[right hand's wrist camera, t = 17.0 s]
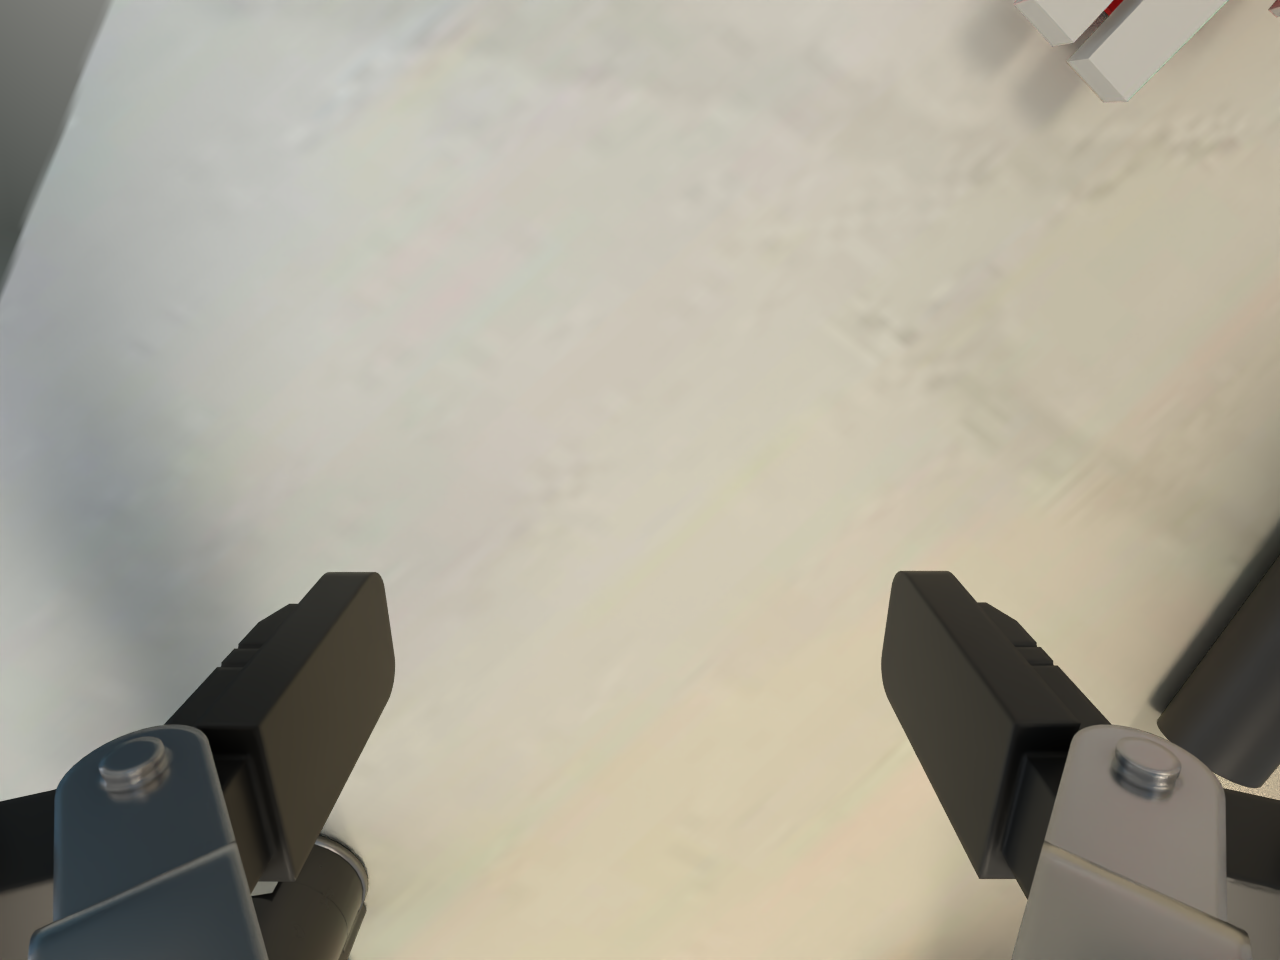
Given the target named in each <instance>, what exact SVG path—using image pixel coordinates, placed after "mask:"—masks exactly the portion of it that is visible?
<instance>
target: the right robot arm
mask: <svg viewBox="0 0 1280 960" xmlns="http://www.w3.org/2000/svg"><path fill="white" fill-rule="evenodd" d="M238 645H239V646H238V649H234V650H233V651H232V652H231V653H230V654H229V655H228V656H227V657H226V658H225V659H224V660H223V661H222V665H221V667H217V668H216V669H215V670H214V671H213V672H212V673H211V674H210V676H209V677H208V678H207V679H206V680H205V681H204V682H203V683H202V684H201V685H200V686H199V687H198V689H197V690H196V691H195V692H194V693H193V694H192V695H191V696H190V697H189V698H188V699H187V700H186V702H185V703H184V704H183V705H182V706H181V707H180V708H179V709H178V710H177V711H176V712H175V713H174V715H173V716H172V717H171V718H170V719H169V720H168V721H167V722H166V723H165V724H164V725H162V726H155V727H150V728H146V729H142V730H138V731H135V732H132V733H129V734H126V735H124V736H121V737H119V738H117V739H114V740H112V741H110V742H108V743H106V744H104V745H103V746H101V747H99V748H97V749H96V750H94V751H92V752H91V753H89V754H88V755H87V756H85V757H84V758H82V759H81V760H80V761H79V762H78V763H76V764H75V765H74V766H73V767H72V768H71V769H70V770H69V771H68V772H67V773H66V774H65V776H64V777H63V778H62V780H61V781H60V783H59V785H58V787H57V789H55V790H51V791H47V792H42V793H37V794H33V795H28V796H24V797H19V798H14V799H10V800H5V801H1V802H0V960H347V959H348V957H349V954H350V952H351V949H352V946H353V944H354V941H355V939H356V936H357V934H358V931H359V928H360V926H361V923H362V921H363V918H364V916H365V913H366V908H365V906H364V904H363V902H364V900H365V897H366V895H367V891H368V879H367V875H366V872H365V869H364V867H363V866H362V864H361V863H360V861H359V860H358V859H357V858H356V857H355V855H354V854H352V853H351V852H350V851H349V850H348V849H346V848H345V847H343V846H342V845H340V844H338V843H337V842H335V841H333V840H330V839H328V838H325V837H322V836H319V834H320V832H321V830H322V828H323V826H324V824H325V822H326V820H327V818H328V817H329V815H330V813H331V811H332V809H333V807H334V805H335V803H336V801H337V799H338V797H339V795H340V793H341V791H342V789H343V787H344V785H345V783H346V781H347V780H348V778H349V776H350V774H351V772H352V770H353V768H354V766H355V764H356V762H357V760H358V758H359V756H360V754H361V752H362V750H363V748H364V746H365V744H366V742H367V741H368V739H369V737H370V735H371V733H372V731H373V729H374V727H375V725H376V723H377V721H378V719H379V717H380V715H381V713H382V711H383V709H384V707H385V705H386V704H387V702H388V699H389V697H390V694H391V691H392V688H393V683H394V675H395V657H394V649H393V643H392V636H391V629H390V622H389V615H388V608H387V601H386V595H385V588H384V583H383V580H382V578H381V576H380V575H379V574H378V573H376V572H327V573H325V574H324V575H323V576H322V577H321V578H320V579H319V580H318V582H317V583H316V584H315V585H314V586H313V587H312V589H311V590H310V591H309V592H308V593H307V594H306V595H305V597H304V598H303V599H302V600H301V601H300V602H299V604H288V605H287V606H285V607H283V608H282V609H280V610H278V611H277V612H275V613H273V614H272V615H270V616H268V617H267V618H265V619H263V620H262V621H260V622H258V624H257V625H256V626H255V627H254V628H253V629H252V630H251V631H250V632H249V633H248V634H247V635H246V637H245V638H244V639H243V640H242V641H241V642H240V643H239V644H238ZM881 670H882V679H883V685H884V689H885V692H886V695H887V698H888V700H889V702H890V704H891V706H892V708H893V710H894V712H895V714H896V716H897V717H898V719H899V721H900V723H901V725H902V727H903V729H904V731H905V733H906V735H907V737H908V739H909V741H910V743H911V745H912V747H913V749H914V751H915V753H916V755H917V757H918V759H919V761H920V763H921V765H922V767H923V769H924V771H925V773H926V775H927V777H928V779H929V781H930V783H931V785H932V787H933V788H934V790H935V792H936V794H937V796H938V798H939V800H940V802H941V804H942V806H943V808H944V810H945V812H946V814H947V816H948V818H949V820H950V822H951V824H952V826H953V828H954V830H955V832H956V834H957V836H958V838H959V840H960V842H961V844H962V846H963V848H964V850H965V852H966V854H967V856H968V858H969V860H970V861H971V863H972V865H973V867H974V869H975V871H976V873H977V875H978V877H979V879H1016V880H1017V882H1018V884H1019V885H1020V887H1021V889H1022V891H1023V892H1024V894H1025V896H1026V898H1027V900H1028V901H1027V904H1026V908H1025V912H1024V915H1023V919H1022V923H1021V926H1020V930H1019V934H1018V937H1017V941H1016V945H1015V948H1014V952H1013V955H1012V959H1011V960H1280V800H1275V799H1271V798H1266V797H1262V796H1257V795H1252V794H1248V793H1243V792H1238V791H1234V790H1229V789H1225V788H1223V787H1222V785H1221V783H1220V781H1219V780H1218V778H1217V777H1216V776H1215V774H1214V773H1213V772H1212V771H1211V770H1210V769H1209V768H1208V767H1207V766H1206V765H1205V764H1204V763H1202V762H1201V761H1200V760H1199V759H1198V758H1196V757H1195V756H1193V755H1192V754H1191V753H1189V752H1188V751H1186V750H1184V749H1183V748H1181V747H1179V746H1177V745H1176V744H1174V743H1172V742H1170V741H1168V740H1166V739H1163V738H1161V737H1159V736H1156V735H1154V734H1151V733H1148V732H1145V731H1142V730H1138V729H1134V728H1130V727H1125V726H1118V725H1111V723H1110V722H1109V721H1108V720H1107V719H1106V718H1105V717H1104V716H1103V715H1102V714H1101V713H1100V711H1099V710H1098V709H1097V708H1096V707H1095V706H1094V705H1093V704H1092V703H1091V702H1090V701H1089V699H1088V698H1087V697H1086V696H1085V695H1084V694H1083V693H1082V692H1081V691H1080V690H1079V689H1078V687H1077V686H1076V685H1075V684H1074V683H1073V682H1072V681H1071V680H1070V679H1069V678H1068V676H1067V675H1066V674H1065V673H1064V672H1063V671H1062V670H1061V669H1060V668H1059V667H1058V666H1054V665H1053V660H1052V659H1051V658H1050V657H1049V656H1048V655H1047V654H1046V652H1045V651H1044V650H1043V649H1042V648H1041V647H1037V645H1036V642H1035V640H1034V639H1033V638H1032V637H1031V636H1030V635H1029V634H1028V633H1027V632H1026V631H1025V630H1024V628H1023V627H1022V626H1021V625H1020V624H1019V623H1018V622H1017V621H1016V620H1014V619H1013V618H1011V617H1009V616H1008V615H1006V614H1004V613H1003V612H1001V611H999V610H998V609H996V608H994V607H993V606H991V605H989V604H988V603H977V602H976V601H975V599H974V598H973V597H972V596H971V595H970V594H969V592H968V591H967V590H966V589H965V588H964V587H963V585H962V584H961V583H960V582H959V581H958V580H957V578H956V577H955V576H954V575H953V574H952V573H951V572H949V571H899V572H898V573H897V574H896V575H895V577H894V579H893V583H892V588H891V594H890V601H889V608H888V615H887V622H886V629H885V636H884V643H883V650H882V658H881Z"/></svg>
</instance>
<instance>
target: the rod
mask: <svg viewBox="0 0 1280 960" xmlns="http://www.w3.org/2000/svg"><path fill="white" fill-rule="evenodd" d="M1157 725H1158V727H1159V729H1160V731H1161V732H1162V733H1163V734H1164V736H1165V737H1166V738H1167V739H1168V740H1169V741H1170V742H1172V743H1174V744H1176V745H1177V746H1179V747H1181V748H1183V749H1184V750H1186V751H1188V752H1189V753H1191V754H1192V755H1193V756H1195V757H1196V758H1198V759H1199V760H1200V761H1201V762H1202V763H1204V764H1205V765H1206V766H1207V767H1208V768H1209V769H1210V770H1211V771H1212V772H1214V773H1215V774H1217V775H1219V776H1221V777H1223V778H1225V779H1227V780H1229V781H1232V782H1234V783H1237V784H1239V785H1242V786H1245V787H1249V788H1259V787H1261V786H1262V785H1263V784H1264V782H1265V781H1266V780H1267V779H1268V778H1269V776H1270V775H1271V774H1272V773H1273V772H1274V771H1275V769H1276V768H1277V767H1278V766H1279V765H1280V555H1279V557H1278V558H1277V559H1276V561H1275V562H1274V563H1273V565H1272V566H1271V567H1270V569H1269V570H1268V571H1267V573H1266V574H1265V575H1264V577H1263V578H1262V580H1261V581H1260V582H1259V584H1258V585H1257V586H1256V588H1255V589H1254V590H1253V592H1252V593H1251V594H1250V596H1249V597H1248V598H1247V600H1246V601H1245V602H1244V604H1243V605H1242V607H1241V608H1240V609H1239V611H1238V612H1237V613H1236V615H1235V616H1234V617H1233V619H1232V620H1231V621H1230V623H1229V624H1228V625H1227V627H1226V628H1225V629H1224V631H1223V632H1222V634H1221V635H1220V636H1219V638H1218V639H1217V640H1216V642H1215V643H1214V644H1213V646H1212V647H1211V648H1210V650H1209V651H1208V652H1207V654H1206V655H1205V656H1204V658H1203V659H1202V661H1201V662H1200V663H1199V665H1198V666H1197V667H1196V669H1195V670H1194V671H1193V673H1192V674H1191V675H1190V677H1189V678H1188V679H1187V681H1186V682H1185V683H1184V685H1183V686H1182V687H1181V689H1180V690H1179V692H1178V693H1177V694H1176V696H1175V697H1174V698H1173V700H1172V701H1171V702H1170V704H1169V705H1168V706H1167V708H1166V709H1165V710H1164V712H1163V713H1162V714H1161V716H1160V717H1159V719H1158V720H1157Z"/></svg>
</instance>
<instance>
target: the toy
mask: <svg viewBox="0 0 1280 960" xmlns="http://www.w3.org/2000/svg"><path fill="white" fill-rule="evenodd" d="M1227 1H1228V0H1016V2H1015V3H1014V6H1015V7H1016V8H1017V9H1018V10H1019V11H1020V12H1021V13H1022V14H1023V15H1024V16H1025V18H1026V19H1027V20H1028V21H1029V22H1030V23H1031V24H1032V25H1033V26H1034V27H1035V28H1036V30H1037V31H1038V32H1039V33H1040V34H1041V35H1042V36H1043V37H1044V38H1045V39H1046V40H1047V42H1048V43H1049V44H1050V45H1051V46H1052V47H1054V46H1059V45H1064V44H1070V43H1074V42H1075V41H1076V40H1077V39H1078V38H1079V37H1080V36H1081V35H1082V33H1083V32H1084V31H1085V30H1086V29H1087V28H1088V27H1089V26H1090V25H1091V24H1092V23H1093V22H1094V21H1095V19H1096V18H1097V17H1098V16H1099V15H1100V14H1101V13H1102V12H1103V11H1105V12H1106V13H1107V14H1108V18H1107V19H1106V20H1105V21H1104V22H1103V23H1102V24H1101V25H1100V26H1099V27H1098V28H1097V29H1096V30H1095V31H1094V32H1093V34H1092V35H1091V36H1090V37H1089V38H1088V39H1087V40H1086V41H1085V42H1084V43H1083V44H1082V45H1081V46H1080V47H1079V49H1078V50H1077V51H1076V52H1075V53H1074V54H1073V55H1072V56H1071V57H1070V58H1069V59H1068V60H1067V61H1066V62H1067V63H1068V64H1069V66H1070V67H1071V68H1072V69H1073V70H1074V71H1075V72H1076V73H1077V74H1078V75H1079V76H1080V78H1081V79H1082V80H1083V81H1084V82H1085V83H1086V84H1087V85H1088V86H1089V87H1090V88H1091V90H1092V91H1093V92H1094V93H1095V94H1096V95H1097V96H1098V97H1099V98H1100V99H1101V100H1102V102H1128V101H1129V100H1130V99H1131V98H1132V97H1133V96H1134V95H1135V94H1136V93H1137V92H1138V91H1139V90H1140V89H1141V88H1142V87H1143V86H1144V85H1145V84H1146V83H1147V82H1148V81H1149V80H1150V79H1151V78H1152V77H1153V76H1154V75H1155V74H1156V73H1157V72H1158V71H1159V70H1160V69H1161V68H1162V67H1163V66H1164V65H1165V64H1166V63H1167V62H1168V61H1169V60H1170V59H1171V58H1172V57H1173V56H1174V55H1175V54H1176V53H1177V52H1178V51H1179V50H1180V49H1181V48H1182V47H1183V46H1184V45H1185V44H1186V43H1187V42H1188V41H1189V40H1190V39H1191V38H1192V37H1193V36H1194V35H1195V33H1196V32H1197V31H1198V30H1199V29H1200V28H1201V27H1202V26H1203V25H1204V24H1205V23H1206V22H1207V21H1208V20H1209V19H1210V18H1211V17H1212V16H1213V15H1214V14H1215V13H1216V12H1217V11H1218V10H1219V9H1220V8H1221V7H1222V6H1223V5H1224V4H1225V3H1226V2H1227ZM1269 11H1270V12H1271V13H1272V14H1274V15H1275V16H1276V17H1280V0H1276V1H1275V3H1274V4H1273V5H1272V6H1271V7H1270V8H1269Z"/></svg>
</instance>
